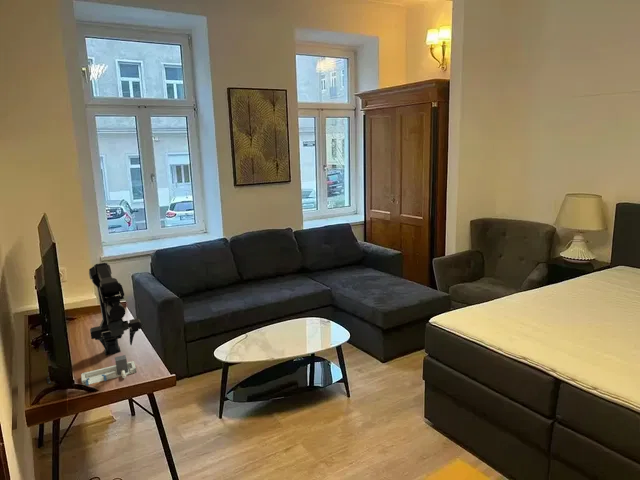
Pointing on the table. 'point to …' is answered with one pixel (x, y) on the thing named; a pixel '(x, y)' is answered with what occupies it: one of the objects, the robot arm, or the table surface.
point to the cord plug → (121, 365)
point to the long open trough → (105, 374)
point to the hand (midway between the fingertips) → (118, 347)
